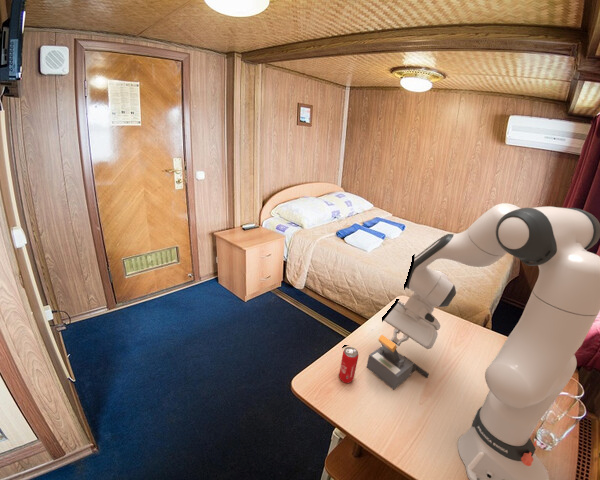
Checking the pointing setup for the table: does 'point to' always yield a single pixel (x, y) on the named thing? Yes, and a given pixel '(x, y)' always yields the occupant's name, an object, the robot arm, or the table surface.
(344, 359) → the beverage can
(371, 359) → the breaker housing
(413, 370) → the bar
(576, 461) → the table surface
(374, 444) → the table surface
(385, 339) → the breaker lever
